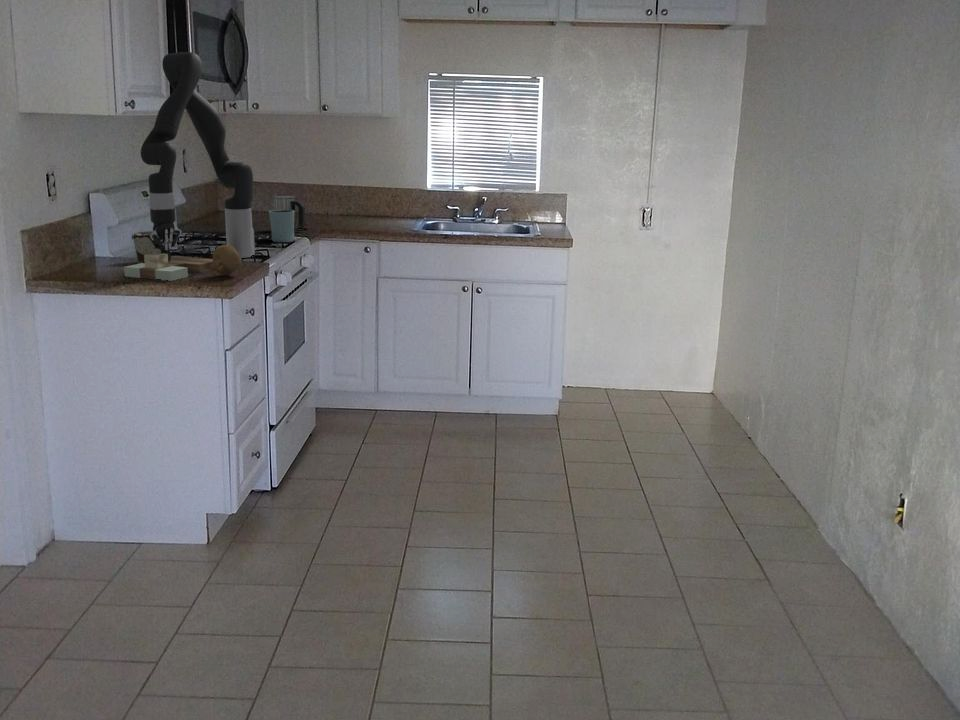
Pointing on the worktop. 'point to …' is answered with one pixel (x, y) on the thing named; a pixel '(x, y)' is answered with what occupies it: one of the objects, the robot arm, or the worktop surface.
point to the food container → (143, 245)
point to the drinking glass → (282, 225)
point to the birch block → (156, 260)
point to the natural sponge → (226, 260)
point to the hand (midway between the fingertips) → (166, 261)
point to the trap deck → (172, 269)
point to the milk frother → (291, 208)
